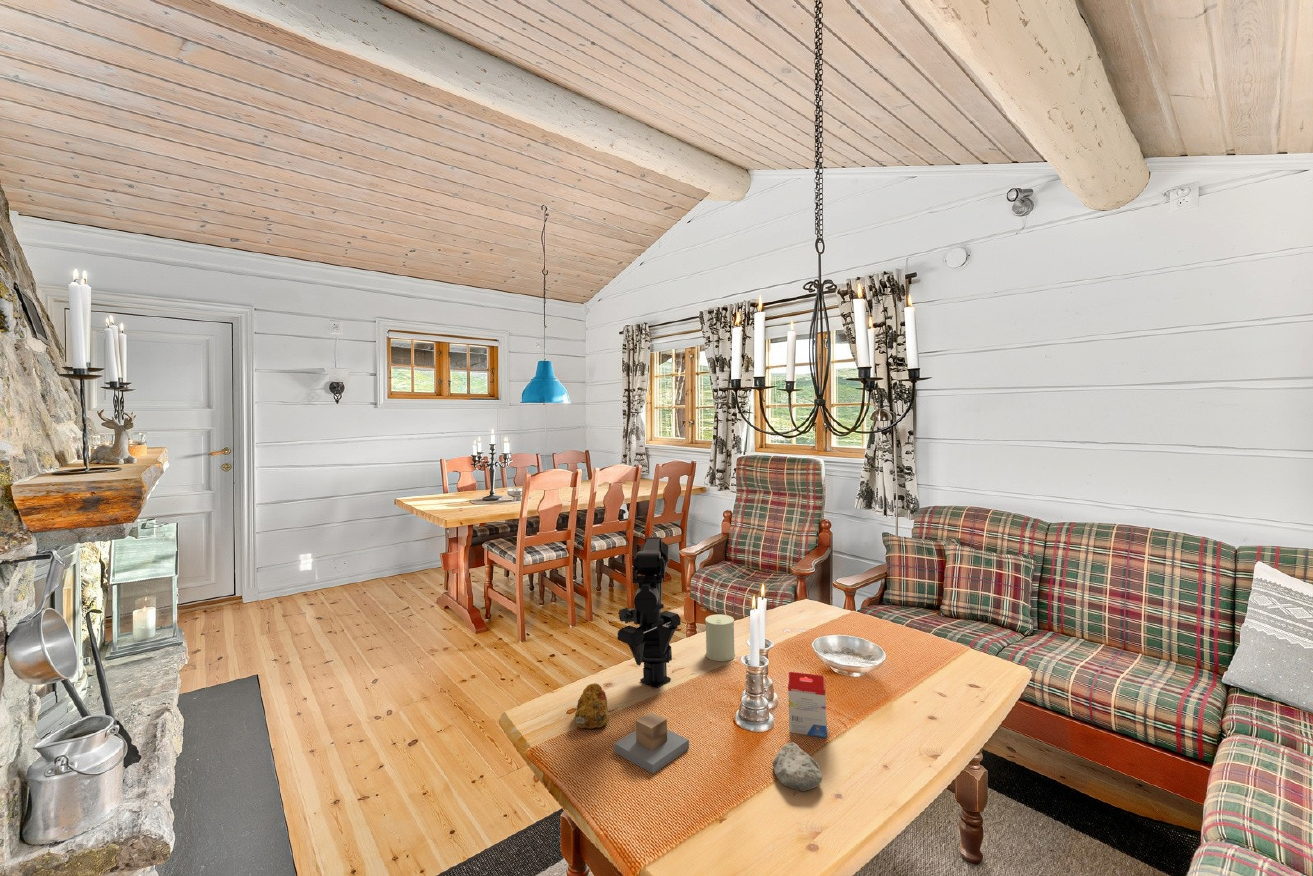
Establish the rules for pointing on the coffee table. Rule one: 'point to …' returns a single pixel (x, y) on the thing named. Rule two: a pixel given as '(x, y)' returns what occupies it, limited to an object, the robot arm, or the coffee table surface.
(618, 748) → the plate
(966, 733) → the coffee table surface
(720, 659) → the pale green cylinder
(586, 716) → the rock
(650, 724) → the walnut cube
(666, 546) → the robot arm
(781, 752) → the decorative stone
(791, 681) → the ink box
